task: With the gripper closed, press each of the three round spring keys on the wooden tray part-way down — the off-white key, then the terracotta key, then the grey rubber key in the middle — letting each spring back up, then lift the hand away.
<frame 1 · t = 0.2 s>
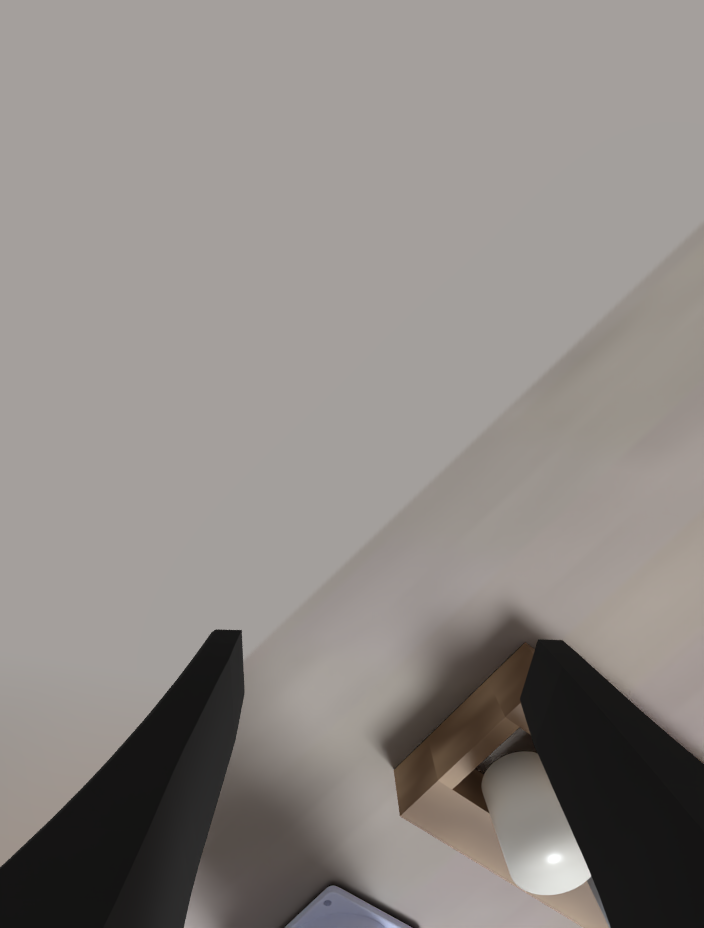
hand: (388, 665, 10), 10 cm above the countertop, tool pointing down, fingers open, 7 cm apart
grey key: (630, 881, 21), point 4 cm above the countertop, slide at 0.0 cm
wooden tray: (582, 795, 25), on the countertop
white key: (535, 818, 19), point 4 cm above the countertop, slide at 0.0 cm
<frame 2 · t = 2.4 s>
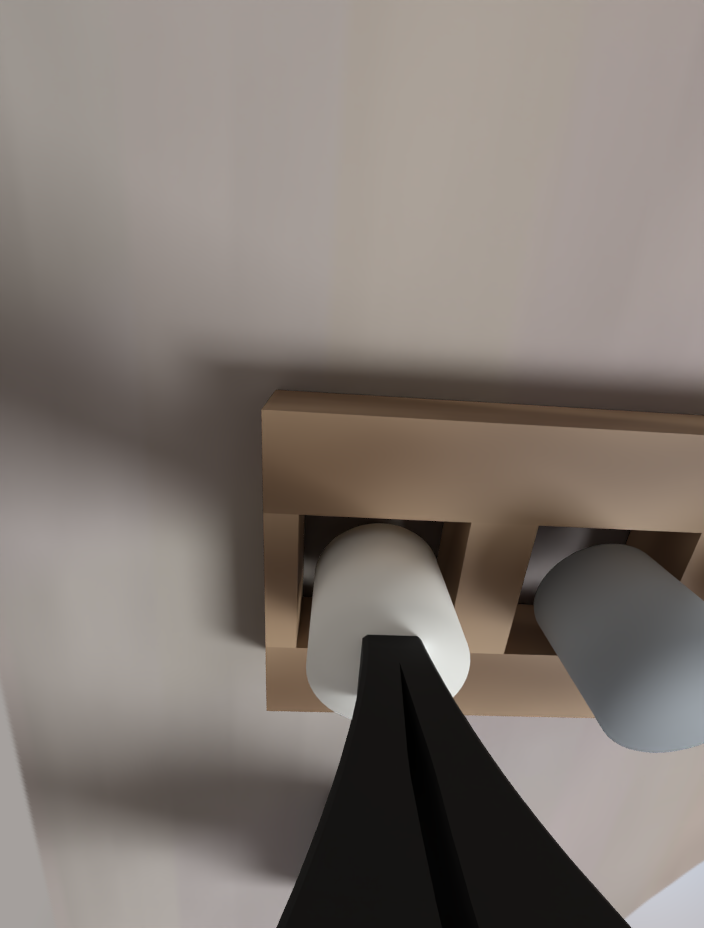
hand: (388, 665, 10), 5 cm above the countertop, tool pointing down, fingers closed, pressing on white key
grey key: (633, 640, 11), point 4 cm above the countertop, slide at 0.0 cm
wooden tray: (557, 552, 15), on the countertop
white key: (381, 616, 11), point 4 cm above the countertop, slide at 0.6 cm, touching gripper
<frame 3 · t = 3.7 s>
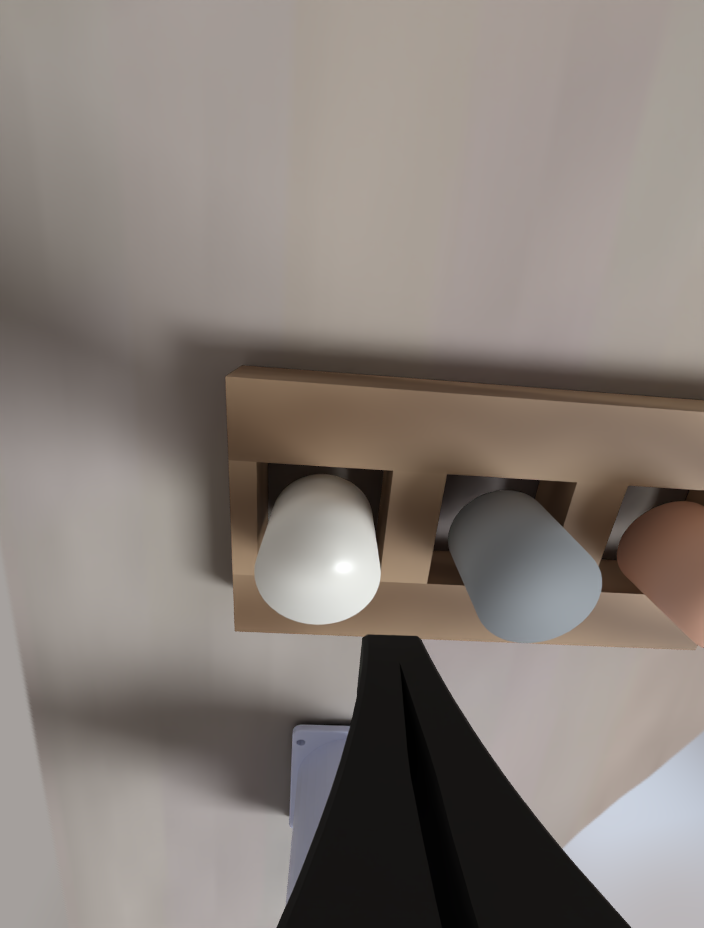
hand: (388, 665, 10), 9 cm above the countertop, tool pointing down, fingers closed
grey key: (516, 562, 14), point 4 cm above the countertop, slide at 0.0 cm
terracotta key: (702, 571, 15), point 4 cm above the countertop, slide at 0.0 cm
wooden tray: (478, 505, 18), on the countertop
white key: (320, 544, 14), point 4 cm above the countertop, slide at 0.4 cm
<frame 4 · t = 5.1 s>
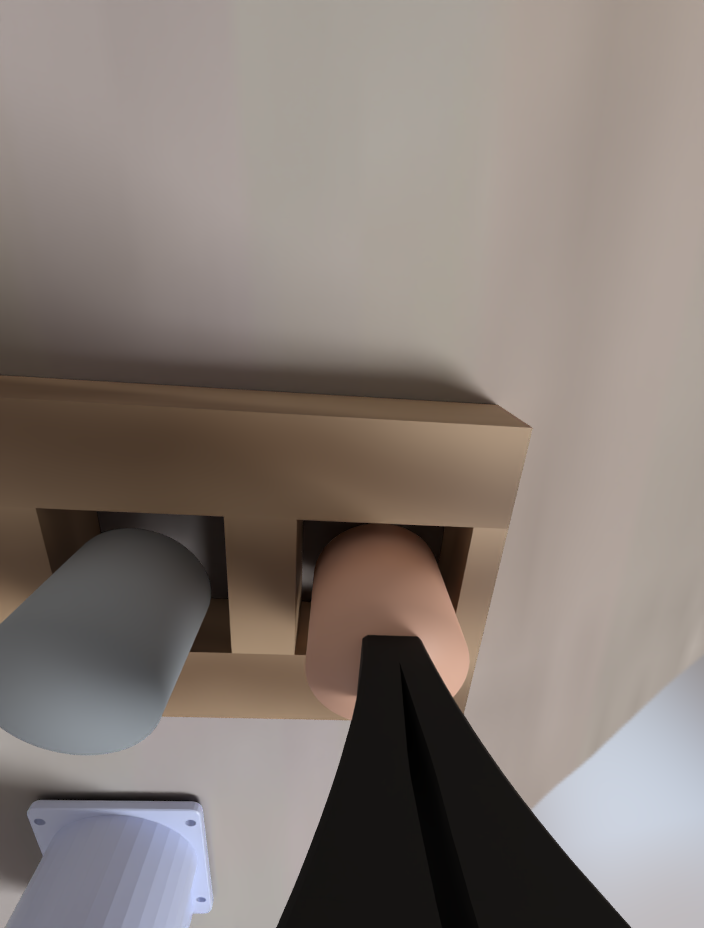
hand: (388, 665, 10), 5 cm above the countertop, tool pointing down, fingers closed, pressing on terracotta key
grey key: (111, 632, 10), point 4 cm above the countertop, slide at 0.0 cm
terracotta key: (380, 616, 11), point 3 cm above the countertop, slide at 0.9 cm, touching gripper
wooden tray: (174, 540, 14), on the countertop
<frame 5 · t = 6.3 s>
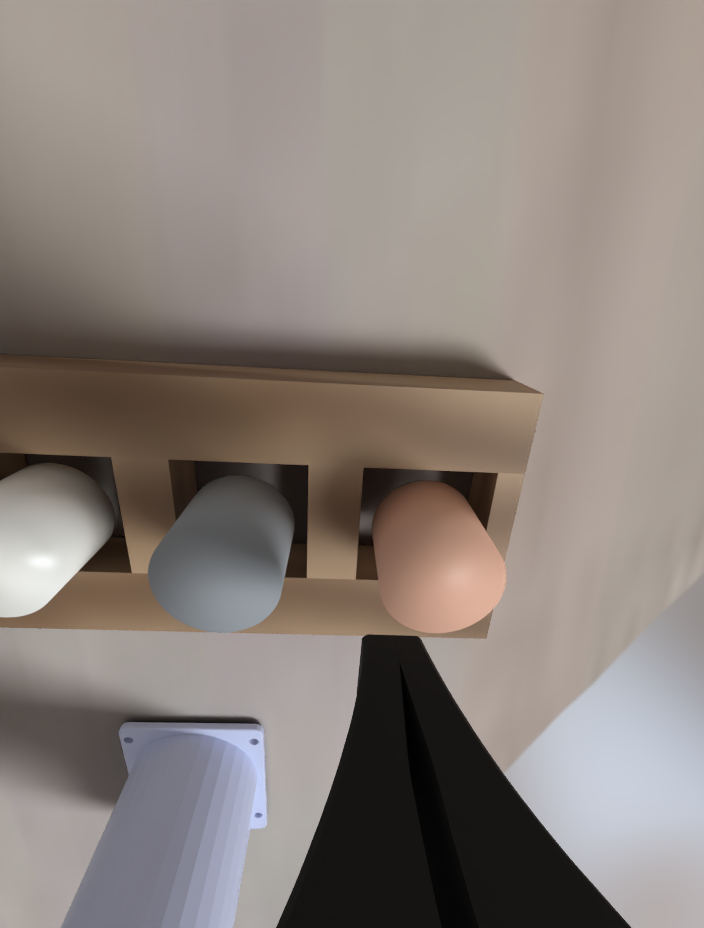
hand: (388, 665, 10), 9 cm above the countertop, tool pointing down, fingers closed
grey key: (230, 548, 14), point 4 cm above the countertop, slide at 0.0 cm
terracotta key: (431, 552, 14), point 4 cm above the countertop, slide at 0.2 cm
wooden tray: (255, 493, 18), on the countertop
white key: (29, 535, 14), point 4 cm above the countertop, slide at 0.4 cm
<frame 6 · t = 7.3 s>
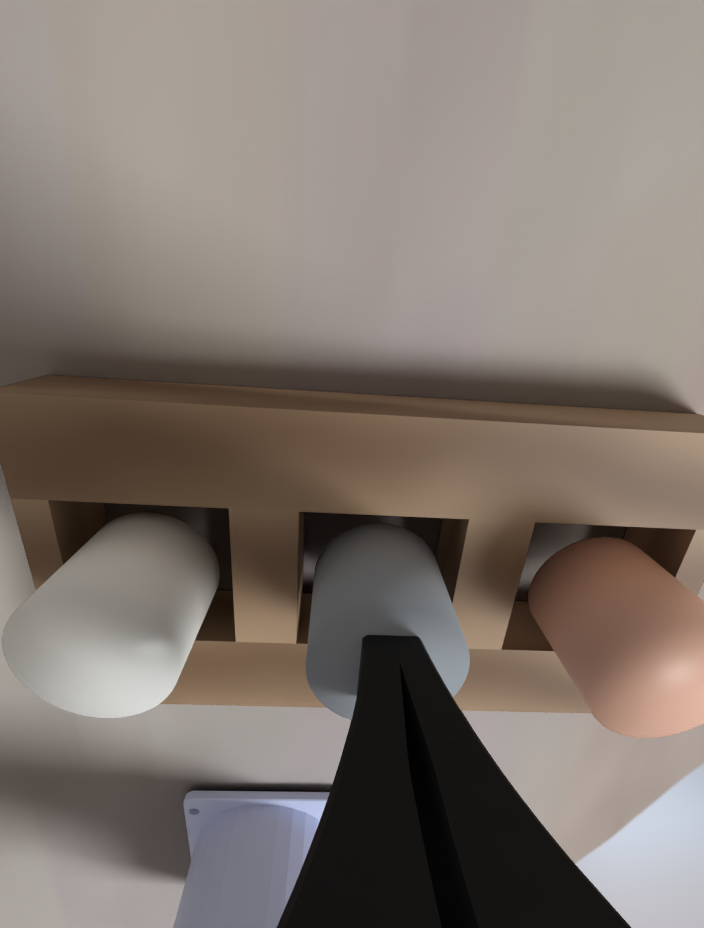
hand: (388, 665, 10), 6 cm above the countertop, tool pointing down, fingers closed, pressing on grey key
grey key: (381, 616, 11), point 4 cm above the countertop, slide at 0.4 cm, touching gripper
terracotta key: (624, 629, 12), point 4 cm above the countertop, slide at 0.2 cm
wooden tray: (371, 541, 15), on the countertop
white key: (128, 607, 11), point 4 cm above the countertop, slide at 0.4 cm
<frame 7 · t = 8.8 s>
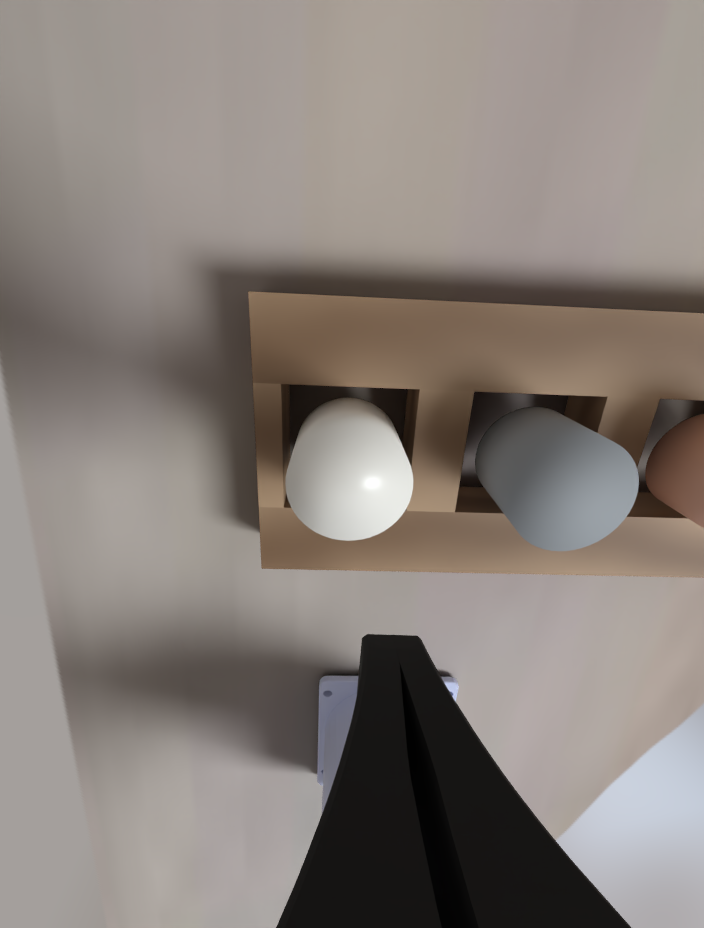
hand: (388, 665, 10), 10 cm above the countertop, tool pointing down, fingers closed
grey key: (547, 474, 14), point 4 cm above the countertop, slide at 0.1 cm
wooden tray: (503, 437, 18), on the countertop
white key: (348, 464, 14), point 4 cm above the countertop, slide at 0.4 cm
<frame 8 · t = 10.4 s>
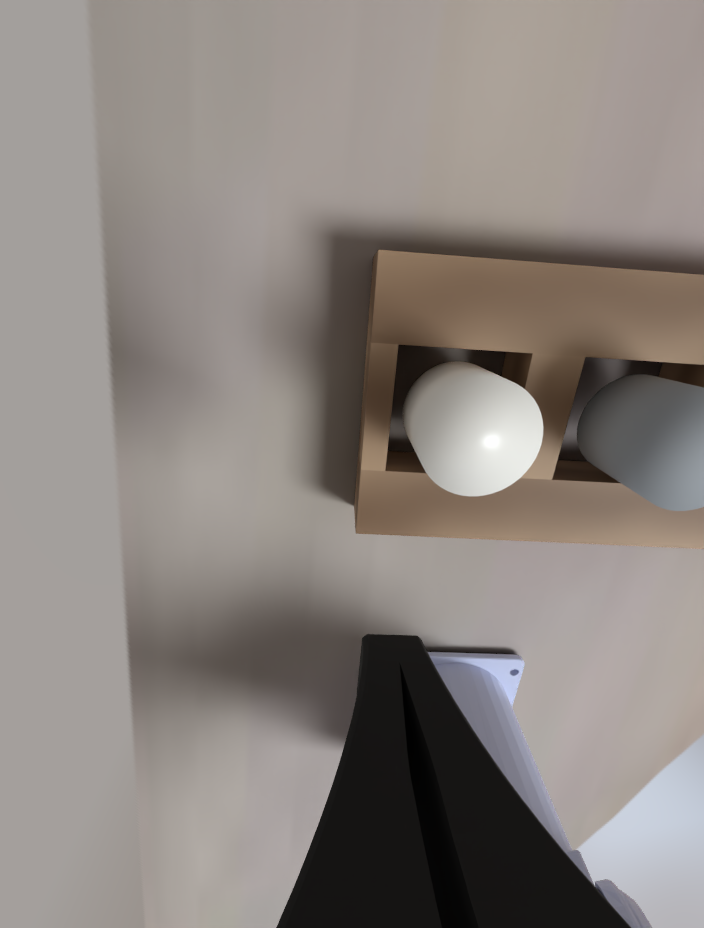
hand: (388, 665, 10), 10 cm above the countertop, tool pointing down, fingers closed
grey key: (659, 438, 15), point 4 cm above the countertop, slide at 0.1 cm
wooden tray: (592, 410, 18), on the countertop
white key: (464, 424, 15), point 4 cm above the countertop, slide at 0.4 cm
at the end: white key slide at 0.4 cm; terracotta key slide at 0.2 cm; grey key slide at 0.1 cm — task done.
